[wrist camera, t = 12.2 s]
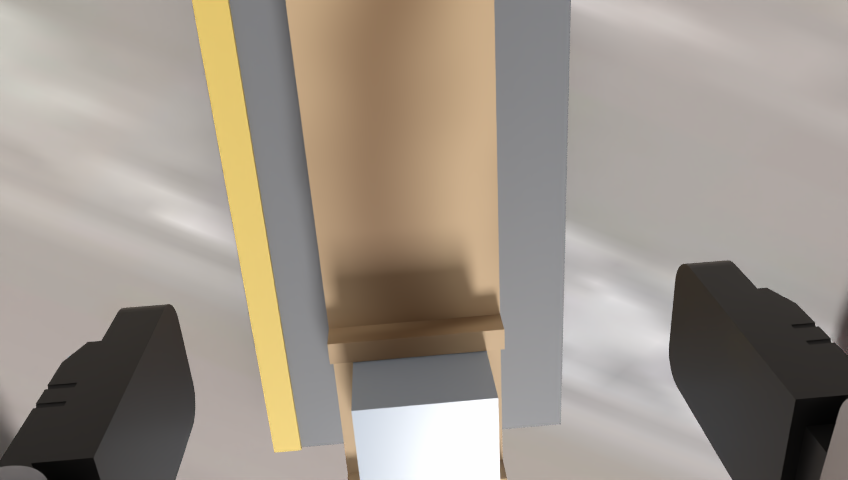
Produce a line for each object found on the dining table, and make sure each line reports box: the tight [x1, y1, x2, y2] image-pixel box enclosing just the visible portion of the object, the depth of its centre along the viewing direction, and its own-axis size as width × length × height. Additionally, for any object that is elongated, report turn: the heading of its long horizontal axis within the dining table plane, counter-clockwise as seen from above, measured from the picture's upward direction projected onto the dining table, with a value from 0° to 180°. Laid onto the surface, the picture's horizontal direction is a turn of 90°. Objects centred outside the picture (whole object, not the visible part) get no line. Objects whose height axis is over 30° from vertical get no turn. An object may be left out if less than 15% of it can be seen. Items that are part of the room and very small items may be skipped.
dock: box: [192, 0, 571, 452], centre depth 29 cm, size 13×33×3 cm, turn 3°
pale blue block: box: [351, 351, 500, 480], centre depth 27 cm, size 5×5×4 cm
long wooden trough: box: [285, 0, 507, 480], centre depth 25 cm, size 6×30×6 cm, turn 3°
